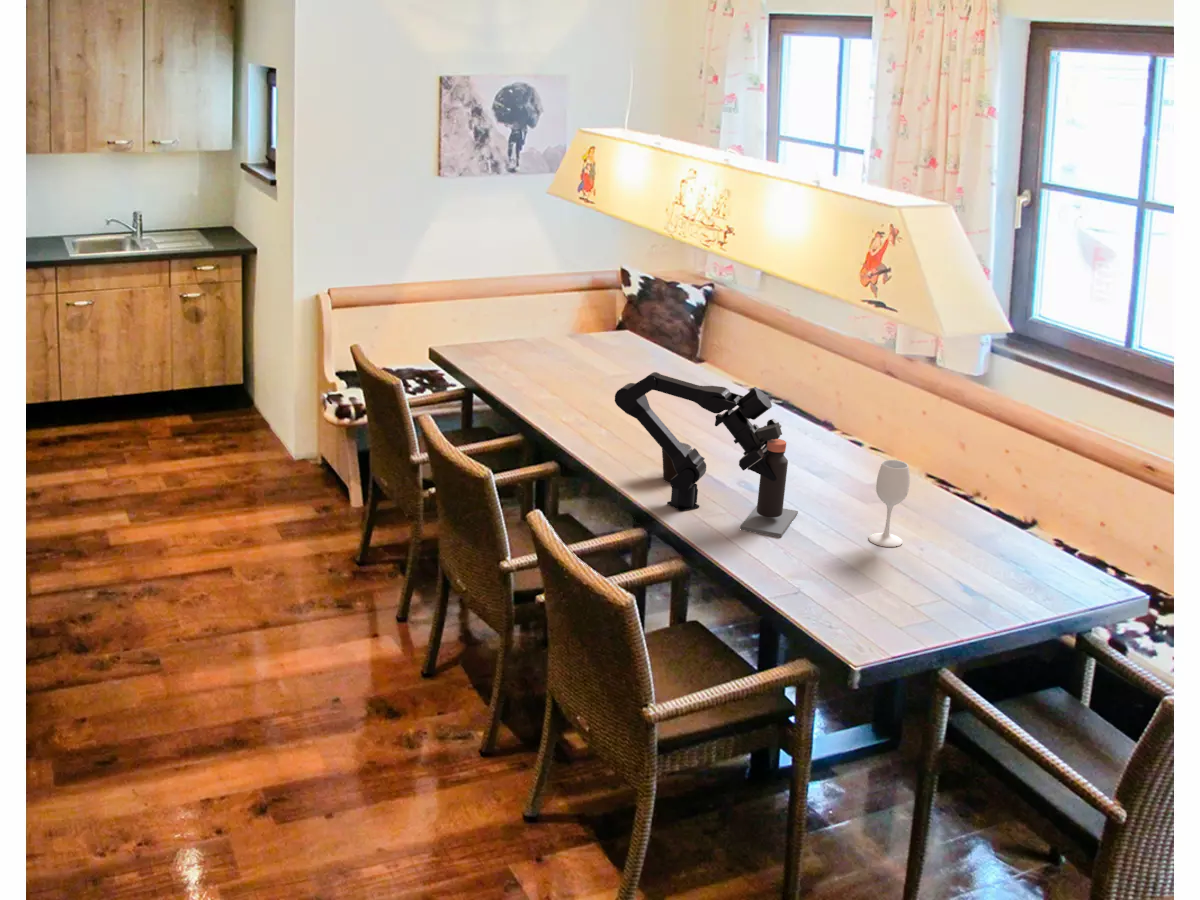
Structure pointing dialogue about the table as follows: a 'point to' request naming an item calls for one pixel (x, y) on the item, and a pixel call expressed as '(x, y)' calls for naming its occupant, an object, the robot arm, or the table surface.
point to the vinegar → (773, 490)
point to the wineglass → (891, 496)
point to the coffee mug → (670, 464)
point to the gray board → (769, 523)
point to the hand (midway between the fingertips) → (778, 476)
